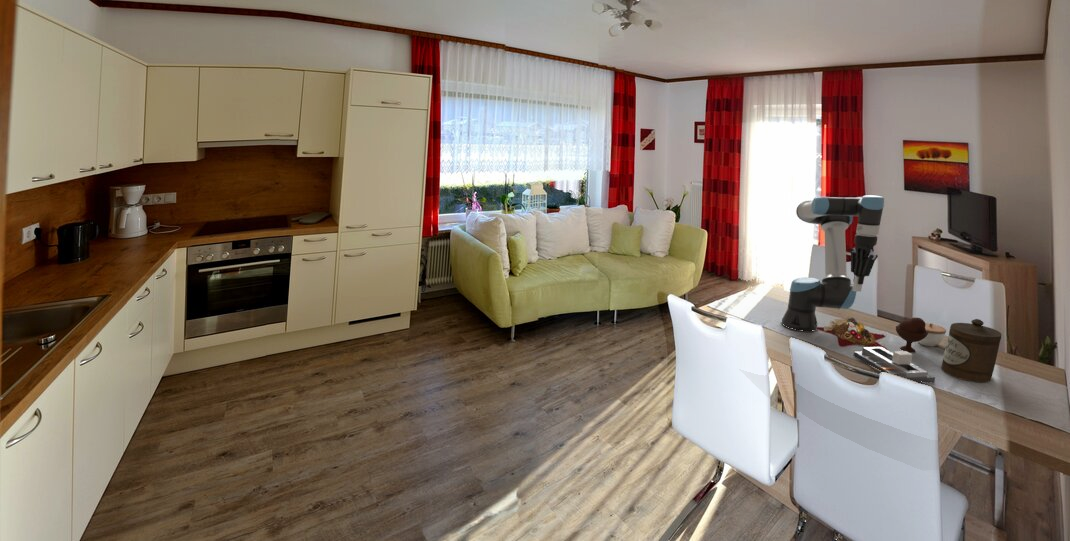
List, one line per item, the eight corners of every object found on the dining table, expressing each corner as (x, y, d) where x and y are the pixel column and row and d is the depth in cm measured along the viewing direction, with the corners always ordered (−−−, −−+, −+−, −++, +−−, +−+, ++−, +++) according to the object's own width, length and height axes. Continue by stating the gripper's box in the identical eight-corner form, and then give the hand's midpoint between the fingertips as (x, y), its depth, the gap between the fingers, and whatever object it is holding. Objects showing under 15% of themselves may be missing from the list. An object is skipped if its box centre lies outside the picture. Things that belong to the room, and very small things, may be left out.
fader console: (853, 355, 205) (855, 347, 204) (885, 354, 206) (887, 346, 205) (898, 383, 182) (900, 373, 181) (934, 382, 183) (936, 372, 182)
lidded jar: (947, 349, 212) (952, 329, 209) (919, 347, 214) (924, 327, 211) (933, 339, 222) (938, 320, 219) (906, 337, 224) (911, 318, 221)
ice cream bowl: (917, 346, 214) (924, 314, 210) (927, 357, 204) (935, 323, 200) (888, 343, 218) (895, 311, 214) (897, 353, 208) (904, 320, 204)
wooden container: (933, 363, 199) (945, 311, 193) (978, 367, 195) (991, 315, 189) (951, 379, 185) (965, 324, 180) (999, 385, 181) (1015, 329, 175)
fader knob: (890, 366, 192) (893, 351, 190) (902, 365, 192) (905, 350, 190) (897, 370, 188) (900, 355, 187) (909, 369, 189) (912, 354, 187)
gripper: (846, 231, 204) (837, 286, 210) (869, 238, 192) (859, 296, 198) (864, 231, 205) (854, 286, 211) (887, 237, 192) (876, 295, 198)
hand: (856, 290), depth 204 cm, fingers closed
